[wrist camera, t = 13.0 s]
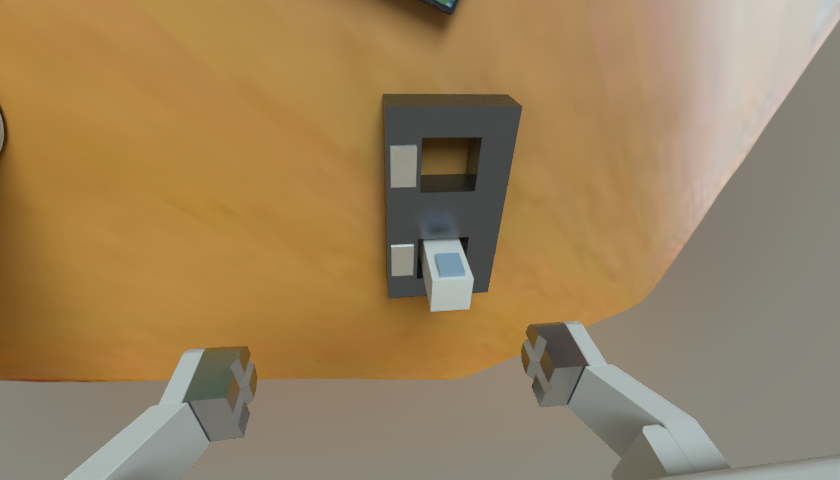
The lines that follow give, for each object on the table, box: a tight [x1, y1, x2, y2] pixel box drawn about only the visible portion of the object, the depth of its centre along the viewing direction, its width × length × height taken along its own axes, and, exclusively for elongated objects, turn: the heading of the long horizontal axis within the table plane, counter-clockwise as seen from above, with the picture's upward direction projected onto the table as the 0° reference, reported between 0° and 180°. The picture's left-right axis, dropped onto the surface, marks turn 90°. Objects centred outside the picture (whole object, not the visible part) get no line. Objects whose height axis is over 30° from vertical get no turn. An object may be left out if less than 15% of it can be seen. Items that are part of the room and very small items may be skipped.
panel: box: [383, 94, 522, 298], centre depth 40 cm, size 12×22×4 cm, turn 178°
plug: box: [418, 238, 474, 312], centre depth 41 cm, size 4×5×10 cm
